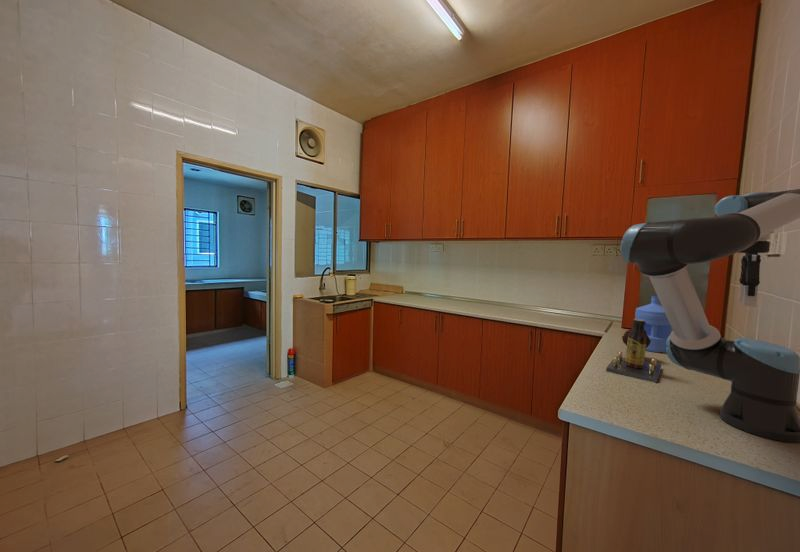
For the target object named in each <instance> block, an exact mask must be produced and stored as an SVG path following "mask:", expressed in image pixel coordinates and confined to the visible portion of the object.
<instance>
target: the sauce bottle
mask: <svg viewBox="0 0 800 552" xmlns="http://www.w3.org/2000/svg"><path fill="white" fill-rule="evenodd" d="M644 325H645V320H641V319H635V318H633V320H632V328H631V329H632V331H631V333H630V334H629V336H628V341H627V346H626V350H625V358H626V359H625V360H626V365H628V366H630V367H633V368H643V365H644V362H645V360H646V359H645V358H646V357H645V356H646V340H647V337H646V335H645V333H644Z"/></svg>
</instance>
